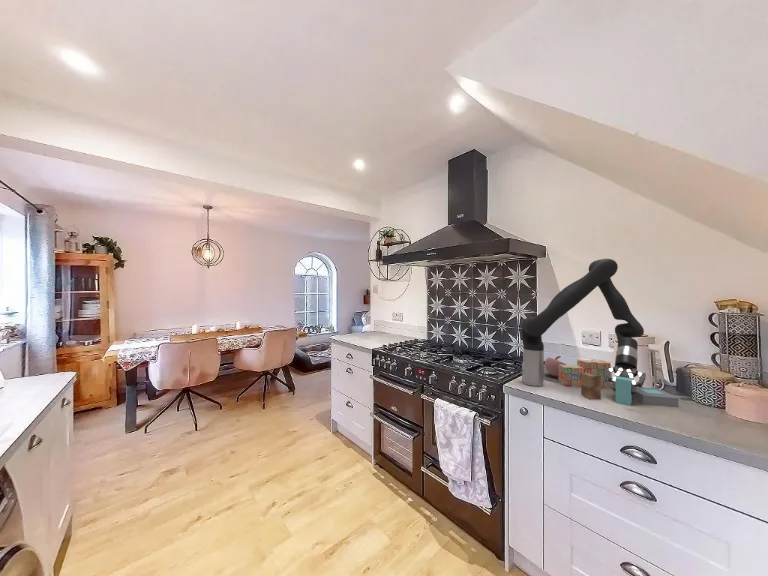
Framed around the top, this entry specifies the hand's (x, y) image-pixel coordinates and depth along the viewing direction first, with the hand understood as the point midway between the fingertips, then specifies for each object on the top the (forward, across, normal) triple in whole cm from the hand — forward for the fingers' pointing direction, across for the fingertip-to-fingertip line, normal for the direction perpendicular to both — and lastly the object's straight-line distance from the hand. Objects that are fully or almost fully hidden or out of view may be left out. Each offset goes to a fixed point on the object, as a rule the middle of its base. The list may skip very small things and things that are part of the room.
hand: (623, 392), depth 123 cm
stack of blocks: (-9, -17, +16) cm, 24 cm away
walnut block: (+4, -11, +3) cm, 12 cm away
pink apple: (-13, -30, +20) cm, 39 cm away
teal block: (+2, 0, +5) cm, 5 cm away
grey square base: (-6, +8, +13) cm, 17 cm away
